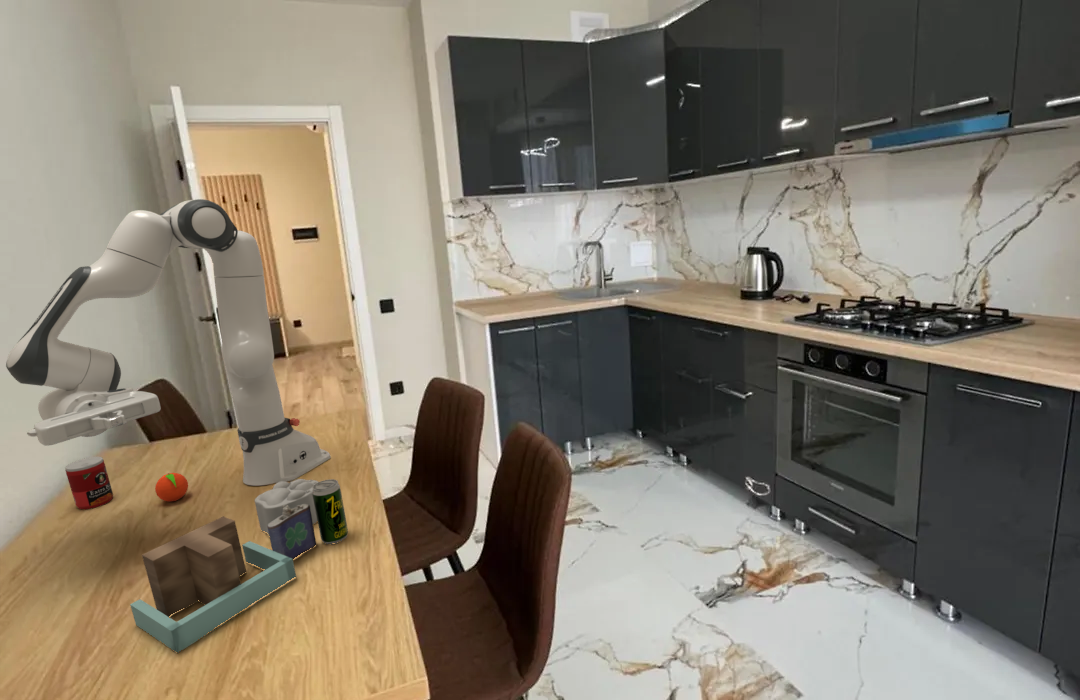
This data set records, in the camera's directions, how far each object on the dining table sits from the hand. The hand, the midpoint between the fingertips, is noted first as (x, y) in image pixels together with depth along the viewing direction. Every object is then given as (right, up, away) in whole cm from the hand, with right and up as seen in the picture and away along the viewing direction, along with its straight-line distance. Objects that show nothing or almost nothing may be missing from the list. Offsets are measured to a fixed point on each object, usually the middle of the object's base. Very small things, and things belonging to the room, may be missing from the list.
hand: (117, 422), depth 111 cm
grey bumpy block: (+27, -24, +17) cm, 40 cm away
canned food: (-32, -25, +36) cm, 54 cm away
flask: (+33, -27, +4) cm, 43 cm away
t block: (+23, -30, -8) cm, 39 cm away
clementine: (-10, -24, +33) cm, 42 cm away
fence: (+25, -30, -9) cm, 40 cm away
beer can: (+39, -25, +9) cm, 47 cm away
